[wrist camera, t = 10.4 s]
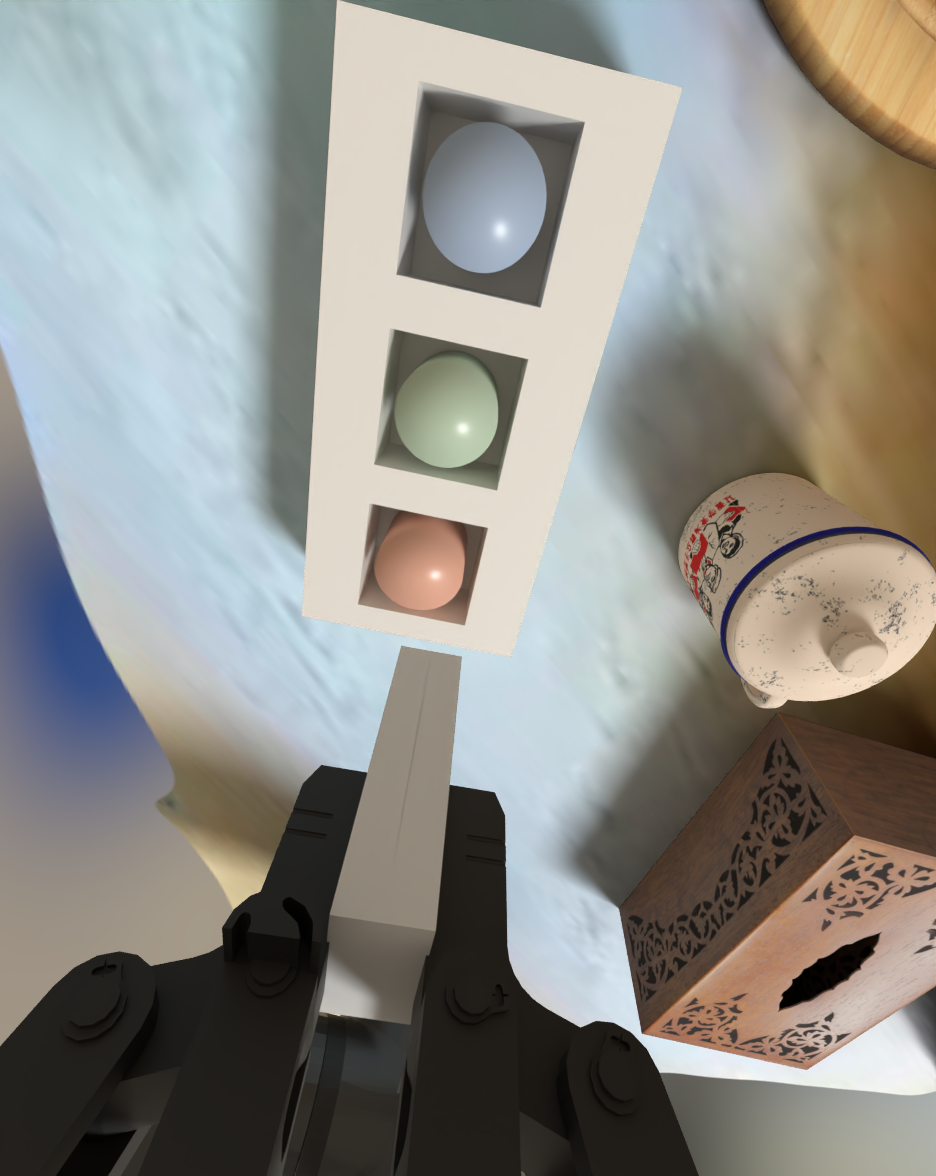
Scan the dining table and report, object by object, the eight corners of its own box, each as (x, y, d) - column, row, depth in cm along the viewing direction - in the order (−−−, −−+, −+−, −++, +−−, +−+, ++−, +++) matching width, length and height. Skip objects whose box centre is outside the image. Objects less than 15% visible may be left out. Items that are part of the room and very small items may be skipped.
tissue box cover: (756, 939, 53) (806, 1069, 44) (618, 905, 51) (642, 1033, 43) (951, 761, 40) (1074, 895, 32) (775, 710, 39) (854, 835, 30)
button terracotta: (459, 581, 33) (454, 617, 30) (384, 566, 33) (369, 600, 29) (474, 511, 31) (471, 541, 27) (393, 494, 30) (379, 522, 27)
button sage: (487, 453, 29) (485, 476, 26) (402, 434, 29) (388, 456, 25) (507, 361, 27) (508, 374, 23) (415, 340, 27) (402, 351, 23)
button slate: (525, 283, 25) (528, 284, 22) (426, 260, 25) (414, 258, 21) (552, 159, 23) (561, 138, 19) (444, 133, 23) (433, 107, 19)
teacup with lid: (687, 465, 30) (780, 560, 20) (857, 466, 30) (1039, 563, 20) (653, 643, 36) (712, 785, 26) (795, 646, 36) (911, 792, 26)
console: (510, 610, 36) (511, 657, 31) (326, 573, 35) (302, 616, 31) (649, 122, 23) (682, 87, 19) (368, 52, 23) (337, -1, 18)
